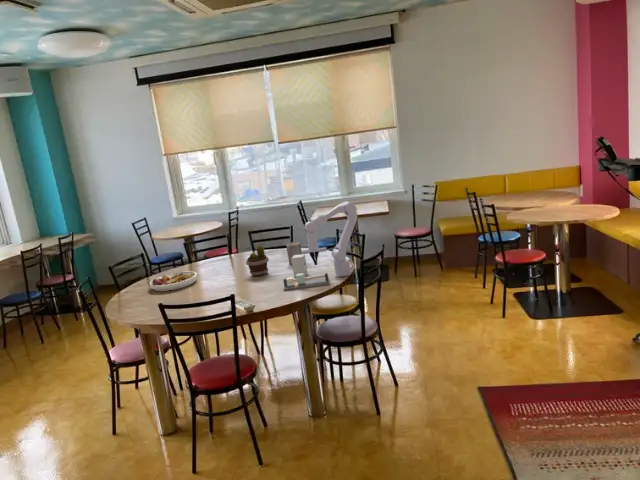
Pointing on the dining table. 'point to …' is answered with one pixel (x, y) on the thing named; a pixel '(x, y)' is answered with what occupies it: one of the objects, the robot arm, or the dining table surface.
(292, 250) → the pillar candle
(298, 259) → the supplement box
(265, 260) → the flowerpot
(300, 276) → the sleeve
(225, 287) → the dining table surface
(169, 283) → the bowl
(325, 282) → the cord board
